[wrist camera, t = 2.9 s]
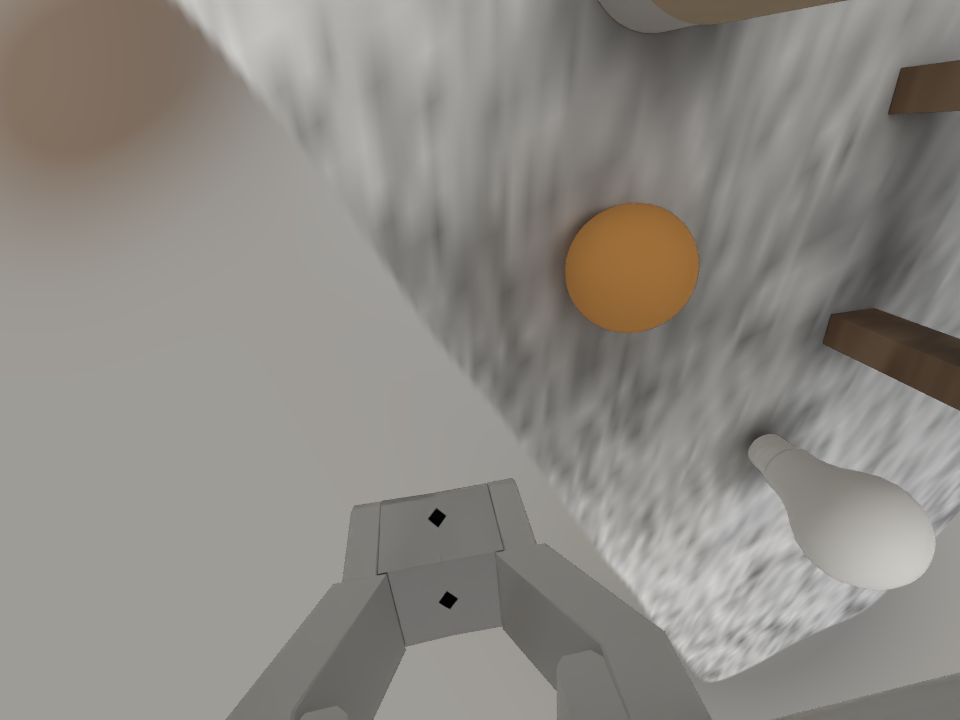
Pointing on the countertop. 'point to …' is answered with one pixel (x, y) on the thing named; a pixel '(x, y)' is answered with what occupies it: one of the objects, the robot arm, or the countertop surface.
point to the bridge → (885, 337)
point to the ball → (632, 267)
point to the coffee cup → (695, 11)
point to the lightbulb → (847, 517)
